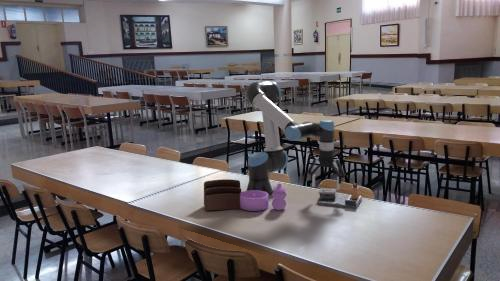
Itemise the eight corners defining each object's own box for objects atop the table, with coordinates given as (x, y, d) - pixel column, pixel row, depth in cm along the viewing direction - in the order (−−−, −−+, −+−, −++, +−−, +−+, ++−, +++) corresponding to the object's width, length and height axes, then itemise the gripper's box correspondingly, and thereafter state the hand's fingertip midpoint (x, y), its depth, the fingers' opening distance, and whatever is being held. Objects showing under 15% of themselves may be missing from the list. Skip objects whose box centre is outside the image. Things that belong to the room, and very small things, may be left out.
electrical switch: (317, 192, 220) (319, 185, 229) (318, 201, 222) (320, 193, 230) (335, 192, 218) (336, 185, 226) (335, 201, 219) (336, 194, 228)
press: (318, 204, 216) (318, 197, 216) (325, 196, 230) (325, 189, 229) (356, 208, 208) (356, 201, 207) (361, 199, 221) (361, 192, 220)
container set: (235, 208, 212) (235, 184, 209) (244, 200, 226) (244, 177, 224) (282, 214, 204) (283, 188, 202) (288, 204, 219) (289, 181, 216)
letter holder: (203, 204, 221) (203, 179, 219) (240, 203, 224) (240, 178, 222) (204, 211, 211) (204, 184, 209) (242, 209, 215) (242, 183, 212)
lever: (351, 198, 218) (351, 184, 217) (352, 196, 221) (352, 183, 220) (357, 199, 217) (357, 185, 216) (358, 197, 220) (358, 183, 218)
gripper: (301, 149, 218) (301, 187, 222) (348, 152, 207) (347, 192, 212) (305, 146, 224) (305, 183, 229) (351, 149, 214) (350, 188, 218)
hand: (325, 187), depth 220 cm, fingers open, 13 cm apart
